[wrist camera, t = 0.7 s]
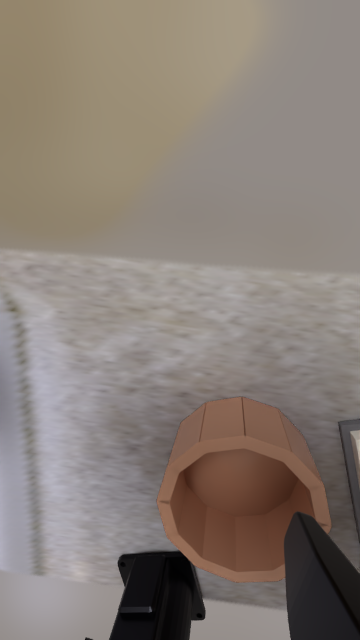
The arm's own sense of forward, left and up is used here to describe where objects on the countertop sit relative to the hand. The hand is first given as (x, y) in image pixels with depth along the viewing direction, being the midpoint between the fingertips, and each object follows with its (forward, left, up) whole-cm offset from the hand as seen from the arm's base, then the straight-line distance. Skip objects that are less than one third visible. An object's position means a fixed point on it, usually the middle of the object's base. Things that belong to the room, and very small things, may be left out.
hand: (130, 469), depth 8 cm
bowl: (-10, -1, -14) cm, 17 cm away
